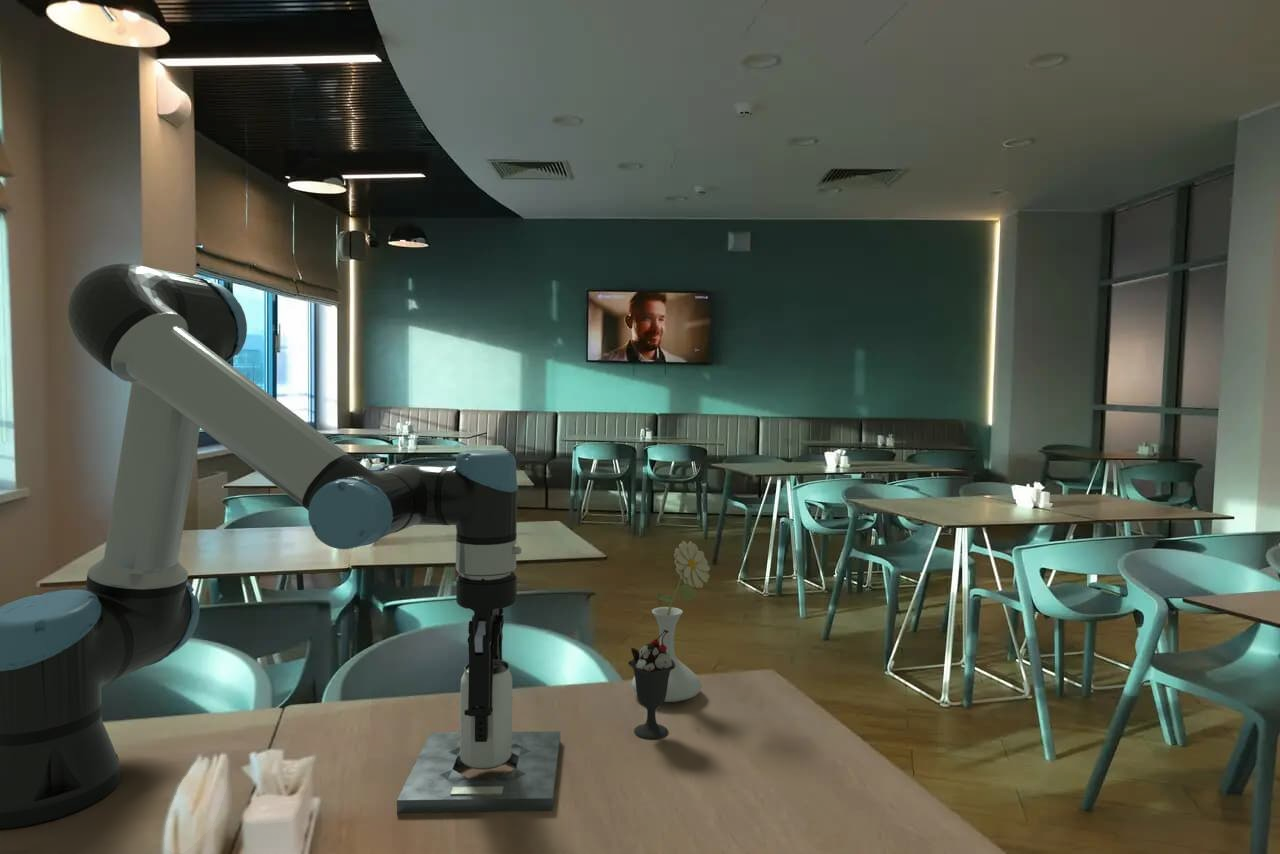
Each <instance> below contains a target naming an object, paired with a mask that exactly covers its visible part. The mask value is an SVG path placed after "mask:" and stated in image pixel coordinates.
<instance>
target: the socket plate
mask: <svg viewBox="0 0 1280 854" xmlns="http://www.w3.org/2000/svg"><path fill="white" fill-rule="evenodd" d="M560 746H561V731H558V730H557V731H555V730H551V731H547V730H546V731H541V730H540V731H512V749H511V757H510V758H509V759H508V761H507V762H508V763H510V764H512V765H514V766H515V767H516V768H515V769H512V770H510V771H507V772H505V773H503V774H500V775H499V776H496V777H466V776H465V775H463V774H462V773H460V772H458V771H457V770H458V768H461V767H464V766H466V765H465V764H464V763H463V762H462V761H461V759H460V731H450V732H447V731H446V732H439V731H438V732H436V731H435V732H430V733H429V735H428V737H427V739H426V741H425V742H424V745H423V747H422V749H421V751H420V753H419V755H418V756H417V759H416V761H415V763H414V764H413V767H412V769H411V772H410V773H409V775H408V777H407V778H406V781H405V783H404V785H403V787H402V789H401V791H400V793H399V795H398V797H397V799H396V813H397V814H399V813H400V814H403V813H404V814H405V813H406V814H407V813H409V814H410V813H467V812H471V813H475V812H477V813H478V812H481V813H482V812H483V813H484V812H485V813H486V812H541V811H542V812H545V811H547V812H549V811H550V812H551V811H553V808H554V807H553V806H554V800H555V791H556V783H557V774H558V773H557V772H558V765H559V764H558V763H559V756H560V748H561V747H560Z"/></svg>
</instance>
